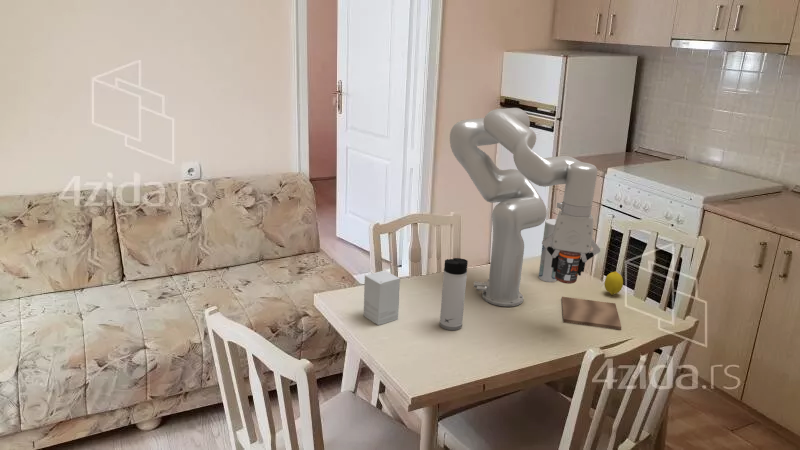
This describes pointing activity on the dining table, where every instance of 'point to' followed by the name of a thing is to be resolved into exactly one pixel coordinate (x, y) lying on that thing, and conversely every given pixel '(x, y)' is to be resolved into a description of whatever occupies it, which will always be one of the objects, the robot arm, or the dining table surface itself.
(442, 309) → the travel mug
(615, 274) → the lemon
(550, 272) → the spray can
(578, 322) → the walnut board
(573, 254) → the supplement bottle
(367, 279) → the supplement box
